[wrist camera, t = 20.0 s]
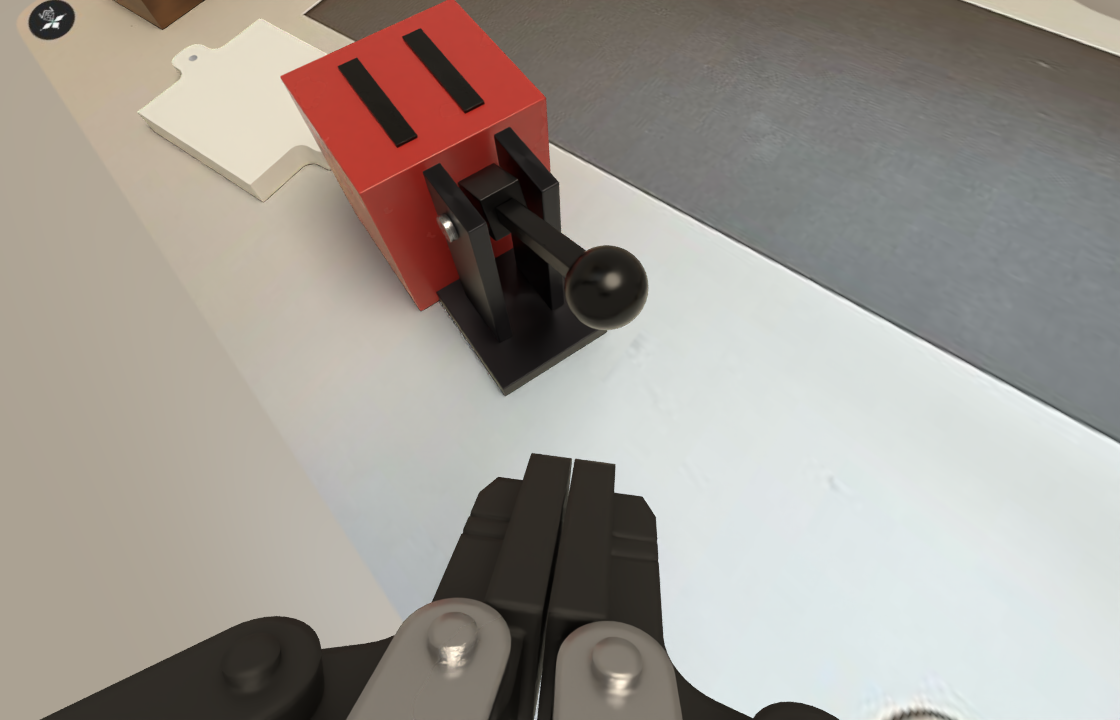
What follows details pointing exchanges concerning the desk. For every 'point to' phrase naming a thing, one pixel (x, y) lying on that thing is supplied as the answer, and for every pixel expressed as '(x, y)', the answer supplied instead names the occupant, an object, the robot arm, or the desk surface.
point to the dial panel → (160, 9)
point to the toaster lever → (562, 253)
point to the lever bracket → (507, 276)
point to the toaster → (416, 129)
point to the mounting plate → (240, 109)
